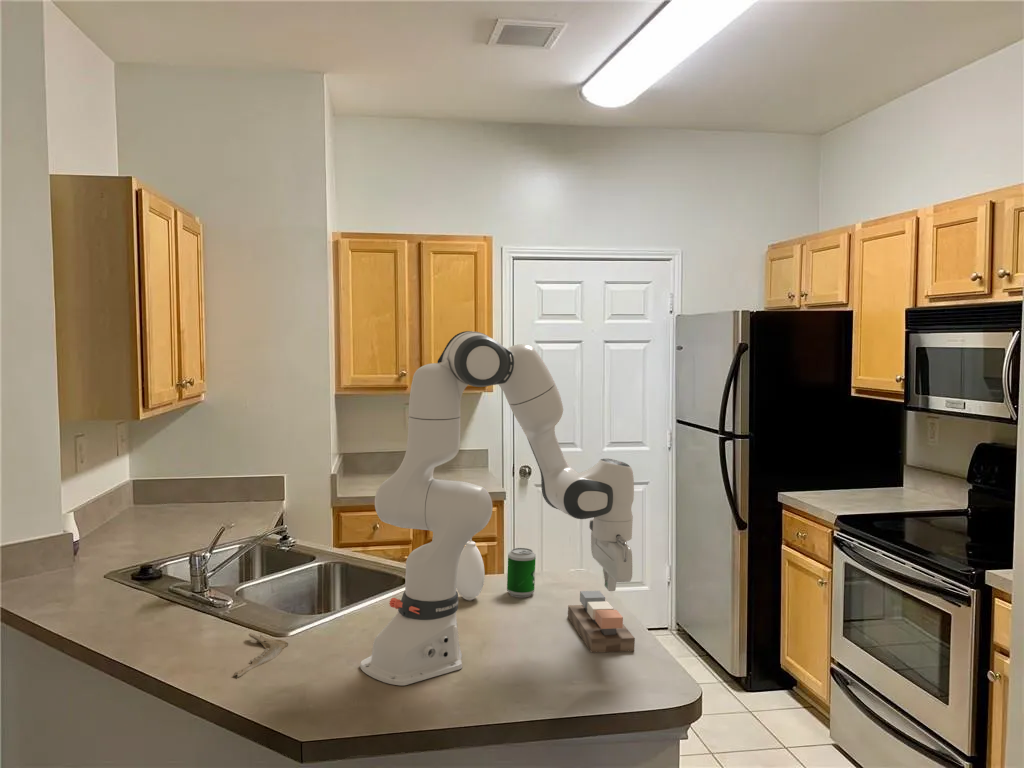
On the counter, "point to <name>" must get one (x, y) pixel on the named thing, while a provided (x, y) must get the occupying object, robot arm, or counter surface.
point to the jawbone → (264, 653)
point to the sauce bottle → (470, 572)
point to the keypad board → (599, 633)
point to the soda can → (521, 572)
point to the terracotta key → (609, 621)
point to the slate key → (590, 597)
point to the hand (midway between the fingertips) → (609, 589)
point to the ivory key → (597, 608)
